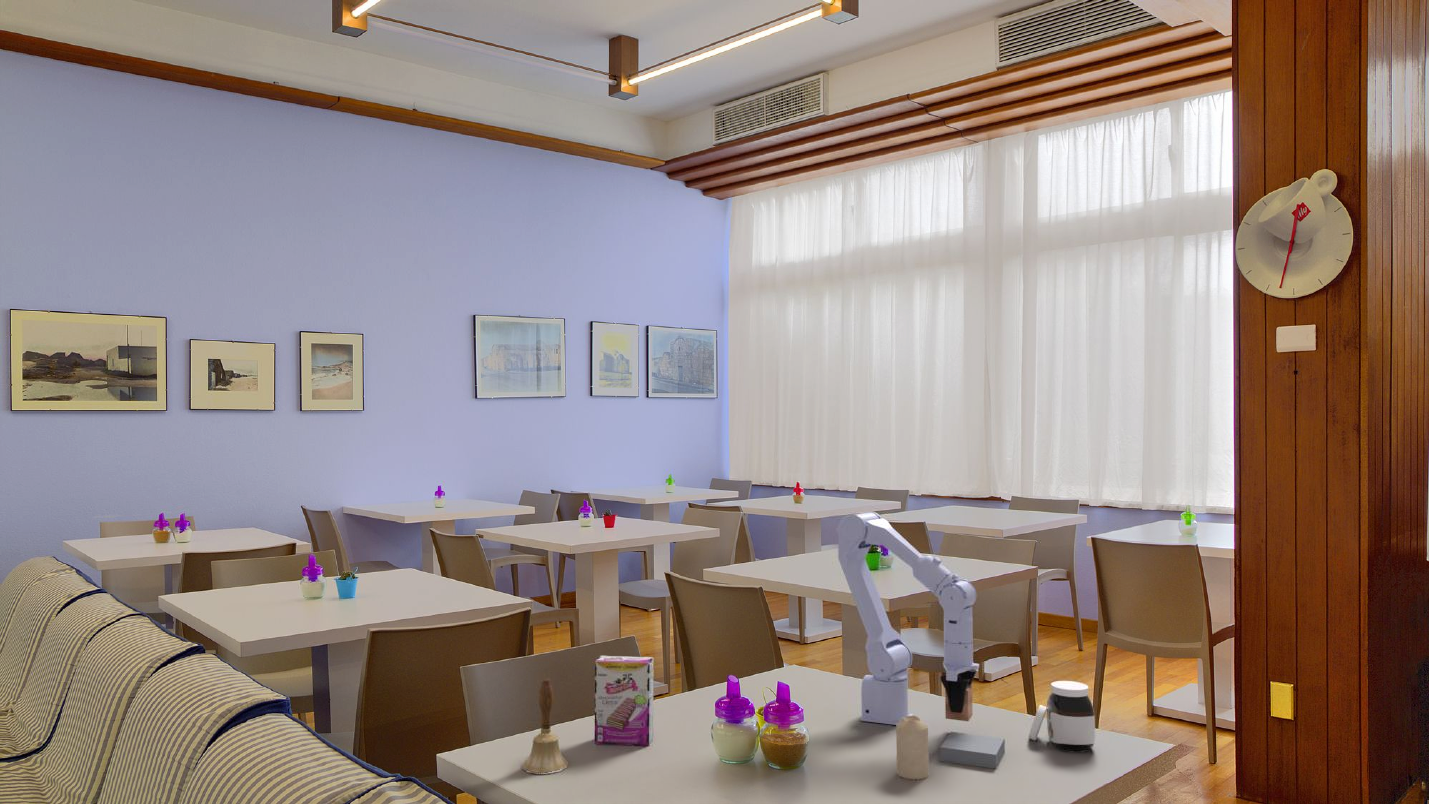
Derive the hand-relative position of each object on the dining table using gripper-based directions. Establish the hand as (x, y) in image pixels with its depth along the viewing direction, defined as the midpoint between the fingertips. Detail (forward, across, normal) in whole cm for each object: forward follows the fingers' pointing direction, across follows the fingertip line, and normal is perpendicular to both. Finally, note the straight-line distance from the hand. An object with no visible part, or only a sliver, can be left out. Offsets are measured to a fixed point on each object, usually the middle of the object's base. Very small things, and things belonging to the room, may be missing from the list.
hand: (958, 708), depth 191 cm
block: (+2, 0, 0) cm, 2 cm away
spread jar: (+5, +1, -19) cm, 20 cm away
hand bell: (+5, -51, +65) cm, 83 cm away
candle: (+5, -27, +3) cm, 28 cm away
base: (+5, -13, -5) cm, 15 cm away
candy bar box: (+5, -33, +59) cm, 68 cm away
